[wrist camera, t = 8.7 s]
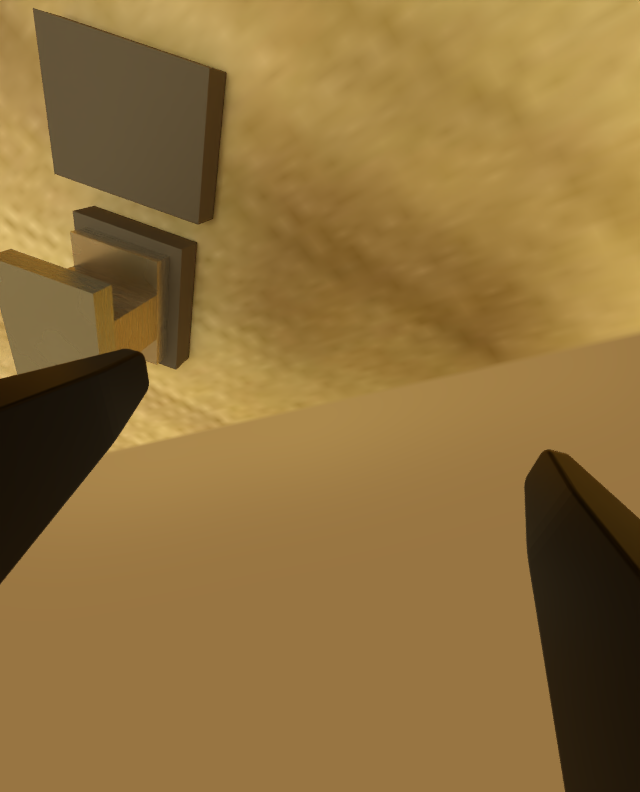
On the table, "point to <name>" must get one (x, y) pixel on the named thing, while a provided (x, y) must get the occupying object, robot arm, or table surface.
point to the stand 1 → (131, 117)
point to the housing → (85, 302)
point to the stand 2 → (179, 270)
